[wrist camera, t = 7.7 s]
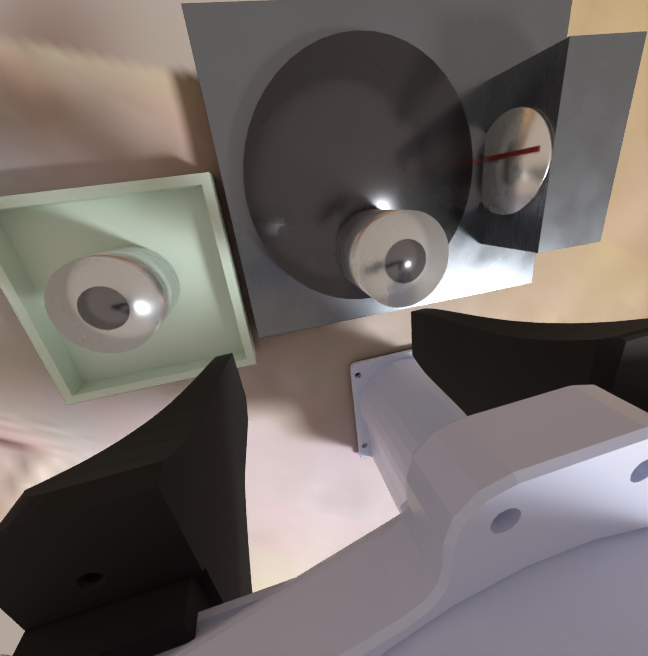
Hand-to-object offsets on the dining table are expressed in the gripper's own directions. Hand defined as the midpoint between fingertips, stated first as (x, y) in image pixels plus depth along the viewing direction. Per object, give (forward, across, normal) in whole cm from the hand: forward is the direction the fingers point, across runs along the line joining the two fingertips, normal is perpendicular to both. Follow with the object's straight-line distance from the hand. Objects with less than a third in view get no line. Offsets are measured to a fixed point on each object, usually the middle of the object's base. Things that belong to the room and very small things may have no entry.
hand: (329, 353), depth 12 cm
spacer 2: (+7, -5, -2) cm, 9 cm away
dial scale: (+9, -7, -6) cm, 13 cm away
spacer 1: (+9, +9, -2) cm, 13 cm away
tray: (+9, +9, -2) cm, 13 cm away
